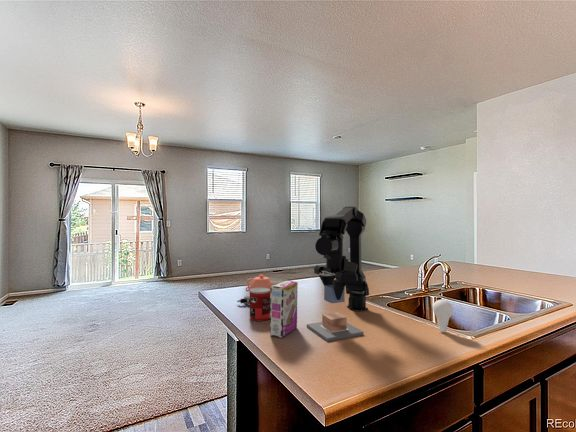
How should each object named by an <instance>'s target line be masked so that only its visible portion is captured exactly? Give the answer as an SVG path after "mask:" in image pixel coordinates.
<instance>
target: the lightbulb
mask: <svg viewBox="0 0 576 432" xmlns="http://www.w3.org/2000/svg"><path fill="white" fill-rule="evenodd" d="M432 310H433V314H434V315H435V317H436V319H437V324H438V331H439V332H441V333H446V332H447V331H448V325H449V320H450V318H451V316H452V314H453V312H454V307H453V305H452V304H451V303H450V302H449V301H448V300H445V299H437V300H436V301H435V302H434V303H433V306H432Z"/></svg>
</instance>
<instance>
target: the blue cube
mask: <svg viewBox="0 0 576 432" xmlns="http://www.w3.org/2000/svg"><path fill="white" fill-rule="evenodd" d="M323 286H324V287H323V289H324V290H323V294H324V295H323V299H324V301H326V302H328V303H330V304H338V303H345V299H346V298H345V295H346V294H345V293H346V286H345V287H344V290H343V293H342V296H341V299H340V300H337V298H336V295H335V291H334V287H333V285H323Z"/></svg>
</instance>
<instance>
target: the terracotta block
mask: <svg viewBox="0 0 576 432" xmlns="http://www.w3.org/2000/svg"><path fill="white" fill-rule="evenodd" d="M321 316H322V317H321V319H322V321H321V322H322V326H323V327H325V328H326V329H328V330H329V331H331V332H333V331H339V330H345V329H347V323H348V319H347V317H346V316H345V315H343V314H341V313H339V312H331V313H324V314H322V315H321Z"/></svg>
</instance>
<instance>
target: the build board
mask: <svg viewBox="0 0 576 432" xmlns="http://www.w3.org/2000/svg"><path fill="white" fill-rule="evenodd" d="M306 328H307V329H309V330H310V331H312V332H313V333H314V334H316V335H317V336H318V337H320V338H321V339H323V340H324V341H325V342H332V341H337V340H338V341H339V340H342V339H348V338H354V337H359V336H364V331H363V330H361V329H360V328H357V327H356V326H354V325H352V324H350V323H348V322H347V329H345V330H339V331H333V332H331V331H329V330H328V329H326V328H325V327H323V326H322V321H319V322H312V323H306Z"/></svg>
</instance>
